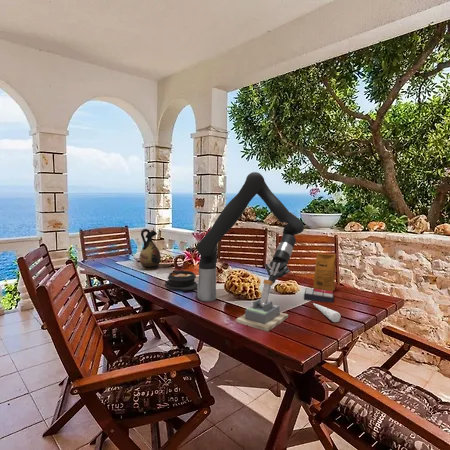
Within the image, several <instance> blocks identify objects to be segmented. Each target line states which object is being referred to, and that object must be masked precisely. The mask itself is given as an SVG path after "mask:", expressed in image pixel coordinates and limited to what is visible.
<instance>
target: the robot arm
mask: <svg viewBox="0 0 450 450" xmlns="http://www.w3.org/2000/svg"><path fill="white" fill-rule="evenodd" d="M256 195H258V197H260V199H261V200H262V201H263V203H264V204H265V205H266V207H267V208H268V209H269V210H270V212H271V213H272V214H273V216H274V217H275V218H276V219H277V220H278V221H279V222H280V223H286V224H285V225H284V227H283V231H282V237H281V240H280V243H278V246H277V247H276V249H275V252H274V255H273V257H272V260H271V261H270V262H269V263H265V264H264V266H265V270H266V272H267V274H268V276H269V277H268V279H267V280H270V281H272V282H273V284H272V286H273V285H274V284H276V283H275V282H276V280H277V279H278V278H279V279H281V278H283V277H284V276H286V275H287V274H289V273H290V268H289V267H288V264H289V260H290V259H291V256H292V253H293V250H294V248H295V245H296V241H297V239H296V237H295V236H296V235H298V234H301V233H302V232H304V230H305V225H304V223H303V221H302V220H301V219H300V218H298V217H297V216H296V215H295V214H294V213H292V212H290V211H289V210H288V208H287V207H286V206H285V204H283V203H282V201H281V200H280V199H279V198H278V197H277V196H276V195H275V194H274V193H273V191H272V190H271V189H270V188H269V186H268V185H267V183H266V181H265V178H264V176H263V175H262V174H261V173H260V172H256V171H253V172H250V173H249V174H248V175H247V176H246V178H245V181H244V184H243V185H242V186H241V188H240V190H239V191H238V193H237V194H236V195H235V196H234V197H233V198H232V199H231V200H230V201H229V202H228V203H226V205H225V206H224V208H223V209H222V211H221V212H220V214H219V215H218V217H217V218H216V219H215V221H214V223H213V225H212V227H211V228H210V229H209V230H208V232H207V233H206V234H205V235H204V236H203V237H202V239H200V240H199V242H198V243H197V246H196V247H197V248H196V249H197V253H198V254H199V255H200V256H199V257H200V258H199V262H198V281H196V282H197V288H196V290H197V294H196V295H197V299H198V300H200V301H201V302H214V301H215V300H216V299H217V262H218V244H219V242H220V241H221V240H222V239H223V237H224V236H225V235H226V234H227V233H228V232H229V231H230V230H231V229H232V228H233V227H234V226H235V225H236V223H237V222H238V220H240V218H241V216H242V215H243V214H244V212H245V210H246V208H248V205H249V204H250V202H251V201H252V200H253V199H254V197H255V196H256Z"/></svg>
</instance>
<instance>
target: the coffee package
mask: <svg viewBox="0 0 450 450" xmlns="http://www.w3.org/2000/svg"><path fill="white" fill-rule="evenodd" d="M336 255H337V254H336V253H330V254H328V253H322V252H317V253H316V258H315V259H316V262H315V267H314V277H313V287H312V289H321V290H327V291H333V292H334V291H335V289H336V286H335V277H336Z"/></svg>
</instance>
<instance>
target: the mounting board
mask: <svg viewBox="0 0 450 450" xmlns="http://www.w3.org/2000/svg"><path fill="white" fill-rule="evenodd" d="M288 318H289V314H288V313H283V312H281V311H280V315H278V316H277V317H275V318H274V319H272V320H271V321H269V322H268V323H266V324H261V323H258V322H254V321H251V320H247V319H245V313H244V314H243V315H241V316H238V317H237V318H236V319H235V322H236V323H237V324H238V323H239V324H242V325H244V326H247V325H248V327H252V328H254V329H257V330H261V331H264V332H266V333H267V332H270V331H271V330H273V329H274V328H275V327H277V326H278V325H280V324H281V323H282V322H284V321H285V320H286V319H288Z"/></svg>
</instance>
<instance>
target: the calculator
mask: <svg viewBox="0 0 450 450" xmlns="http://www.w3.org/2000/svg"><path fill="white" fill-rule="evenodd" d="M334 294H335V293H334V291H327V290H321V289H313V287H312V288H310V287H306V288H305V291H304V294H303V300H304V301H310V302H311V301H314V302H321V303H322V302H323V303H330V304H333V303H334V298H335V297H334Z"/></svg>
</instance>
